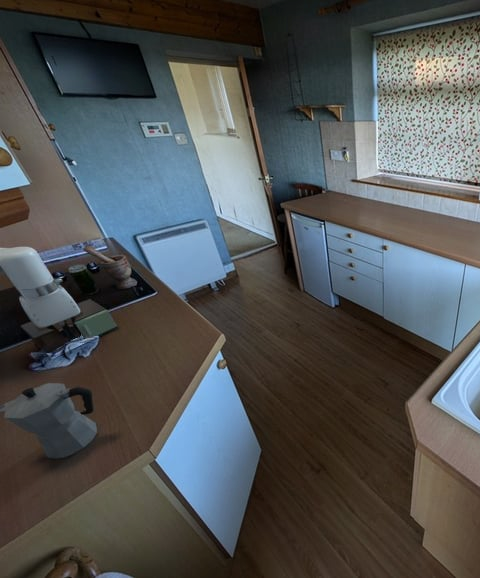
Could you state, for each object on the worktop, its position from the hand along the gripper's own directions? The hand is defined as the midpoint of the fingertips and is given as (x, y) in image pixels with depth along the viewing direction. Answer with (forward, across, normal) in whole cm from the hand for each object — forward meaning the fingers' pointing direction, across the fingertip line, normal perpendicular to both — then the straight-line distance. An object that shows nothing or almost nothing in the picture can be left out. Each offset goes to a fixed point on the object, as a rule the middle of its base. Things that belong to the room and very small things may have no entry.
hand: (71, 336), depth 95 cm
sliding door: (+3, -7, 0) cm, 8 cm away
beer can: (+5, -17, -38) cm, 42 cm away
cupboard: (+4, -2, -6) cm, 8 cm away
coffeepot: (+4, +13, +41) cm, 43 cm away
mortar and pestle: (+4, -26, -32) cm, 41 cm away
